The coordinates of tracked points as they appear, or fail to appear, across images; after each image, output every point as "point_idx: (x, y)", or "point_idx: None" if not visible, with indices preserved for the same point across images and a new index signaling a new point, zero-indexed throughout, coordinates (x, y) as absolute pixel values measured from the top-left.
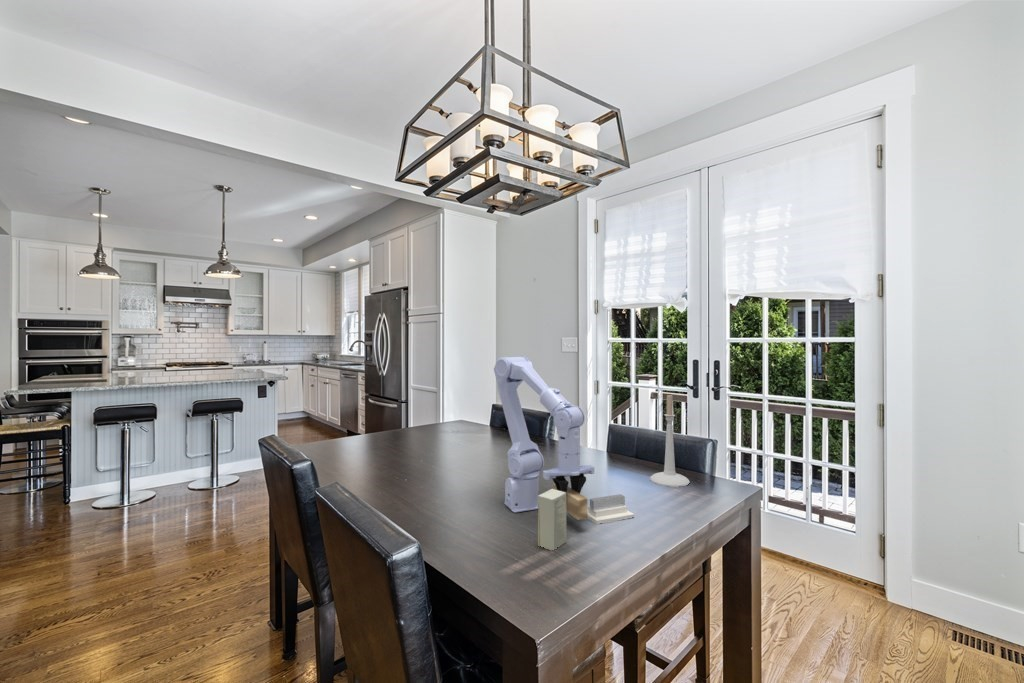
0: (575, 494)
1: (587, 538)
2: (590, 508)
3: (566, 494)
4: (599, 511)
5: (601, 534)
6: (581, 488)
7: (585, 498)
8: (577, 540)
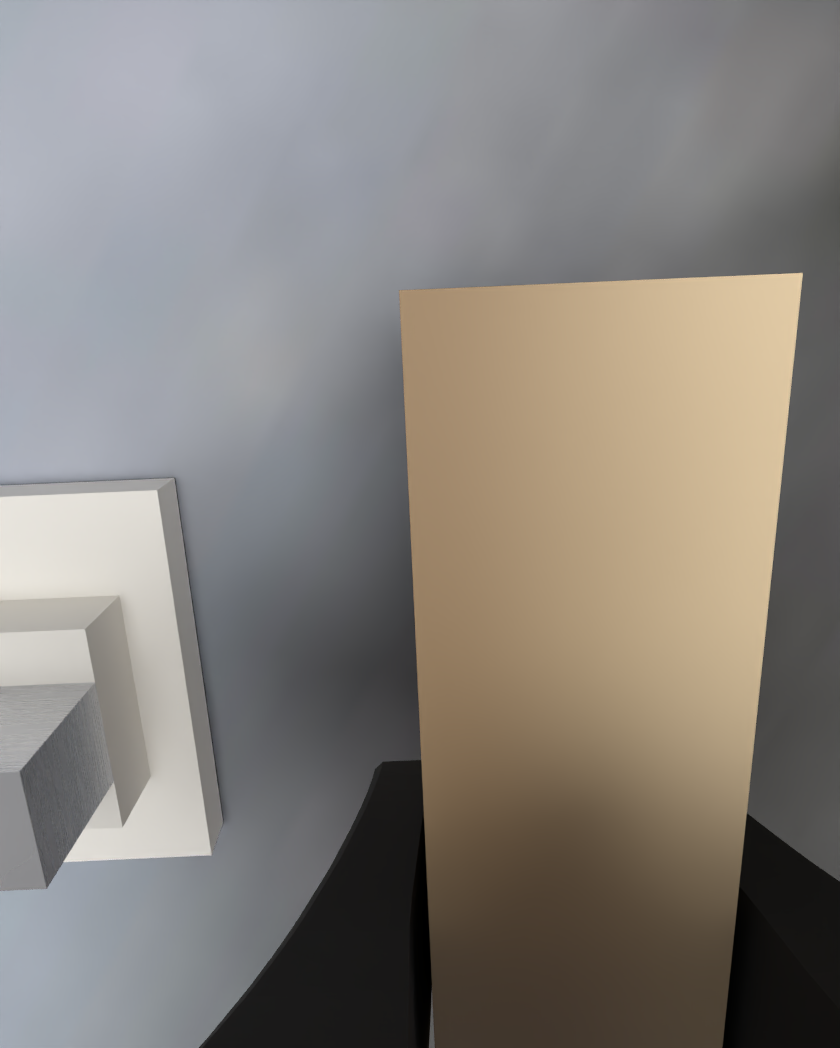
0: (574, 757)
1: (507, 102)
2: (111, 764)
3: (739, 885)
4: (18, 628)
5: (251, 156)
6: (256, 995)
7: (454, 334)
8: (673, 91)
